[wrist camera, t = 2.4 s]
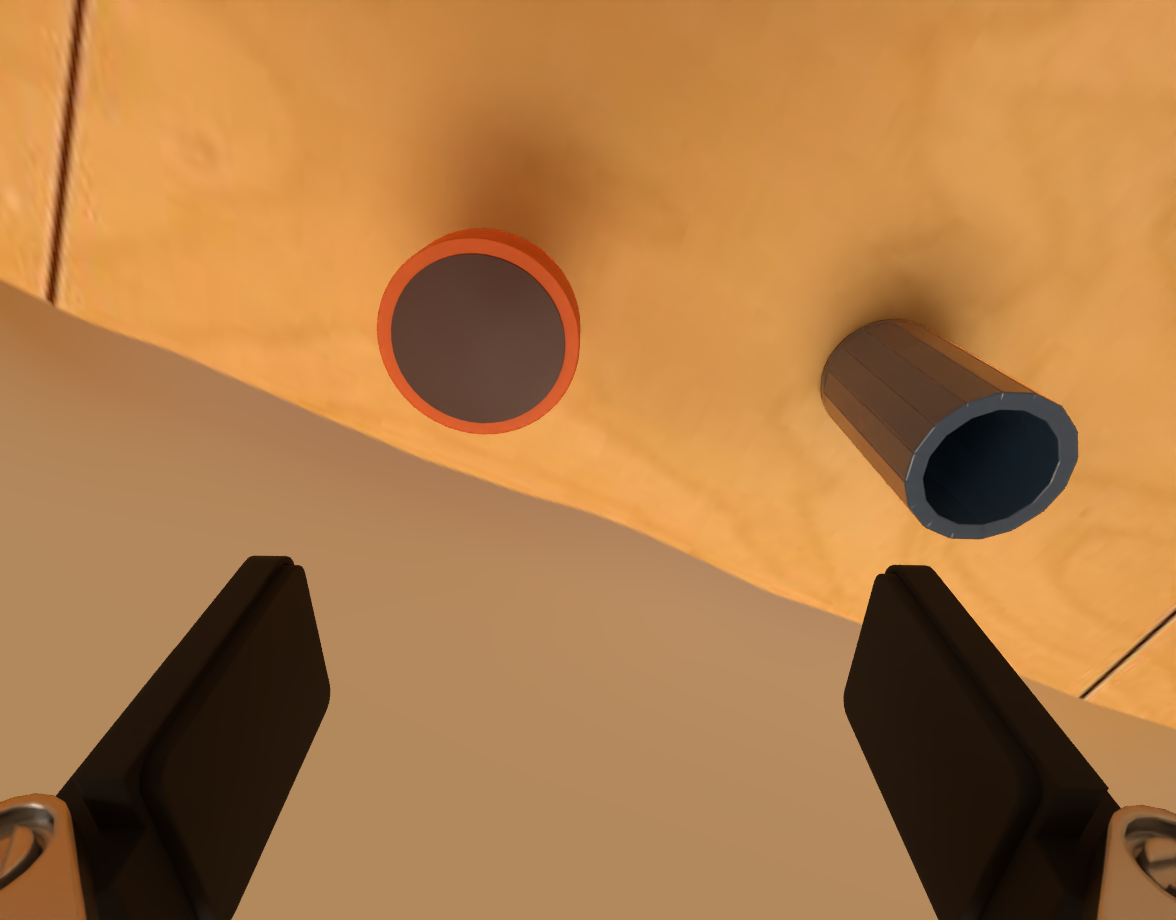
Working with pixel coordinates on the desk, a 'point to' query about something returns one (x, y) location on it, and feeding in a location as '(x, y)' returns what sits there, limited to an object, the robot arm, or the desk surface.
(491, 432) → the funnel
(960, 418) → the tumbler
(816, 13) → the desk surface
